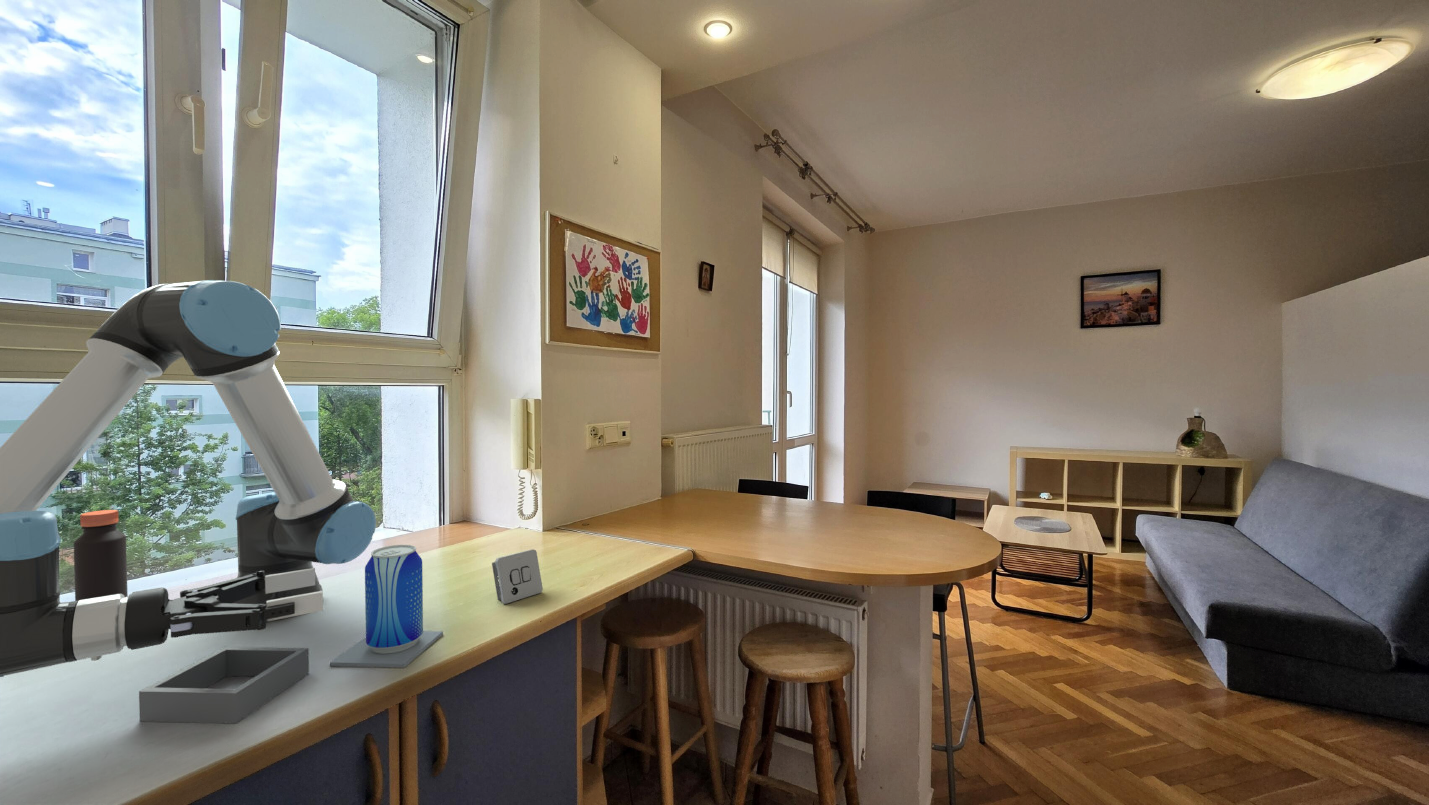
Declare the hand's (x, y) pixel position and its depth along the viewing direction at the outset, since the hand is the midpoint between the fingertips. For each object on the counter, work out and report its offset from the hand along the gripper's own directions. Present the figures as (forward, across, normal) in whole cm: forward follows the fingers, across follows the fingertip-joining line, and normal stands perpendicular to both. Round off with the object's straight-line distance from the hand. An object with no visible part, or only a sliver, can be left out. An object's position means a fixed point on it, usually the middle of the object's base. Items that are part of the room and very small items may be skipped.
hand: (318, 587), depth 91 cm
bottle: (-31, -48, -13) cm, 59 cm away
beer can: (+10, 0, -12) cm, 16 cm away
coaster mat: (+10, 0, -12) cm, 16 cm away
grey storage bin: (-11, +2, -12) cm, 17 cm away
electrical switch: (+35, -11, -13) cm, 39 cm away
